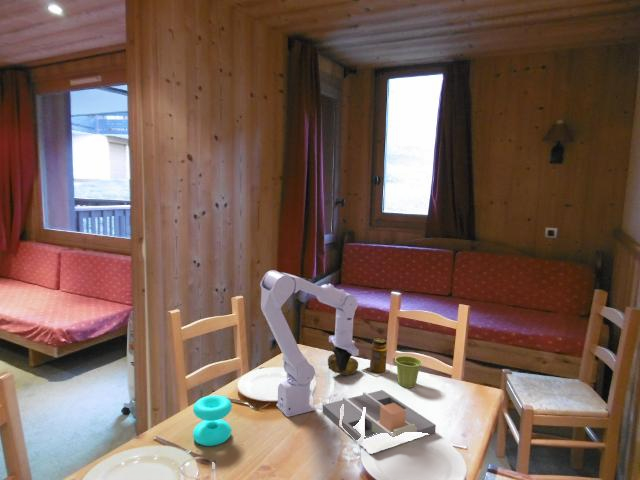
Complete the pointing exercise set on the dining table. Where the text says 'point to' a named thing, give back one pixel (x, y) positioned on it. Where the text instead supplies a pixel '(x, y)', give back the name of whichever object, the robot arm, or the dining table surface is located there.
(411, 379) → the plant pot
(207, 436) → the donuts
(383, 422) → the terracotta block
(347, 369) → the potato
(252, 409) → the dining table surface
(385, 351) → the condiment
